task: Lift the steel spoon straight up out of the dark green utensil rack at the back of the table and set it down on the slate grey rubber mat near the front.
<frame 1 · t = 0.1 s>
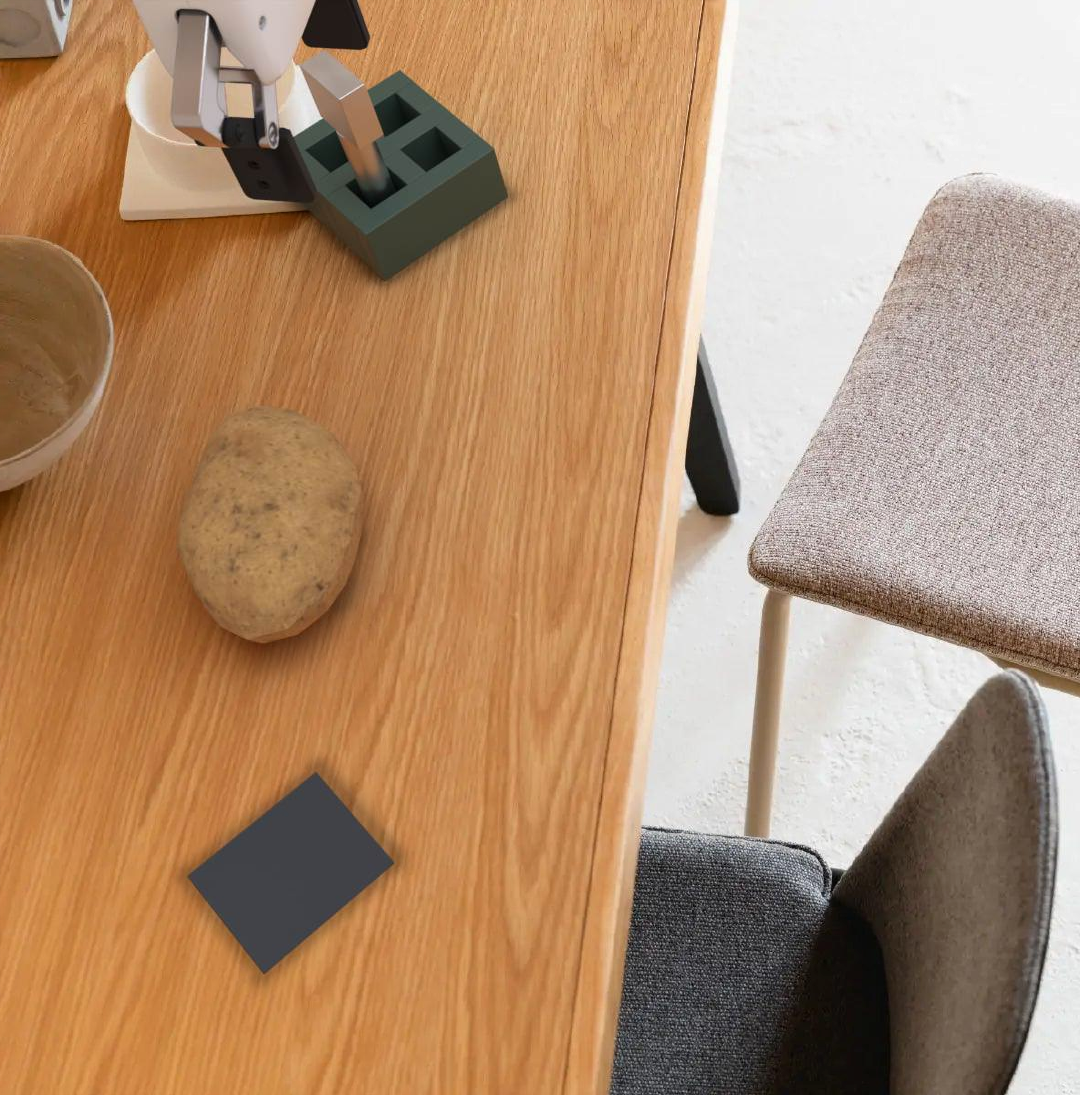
hand: (311, 117, 68), 24 cm above the table, tool pointing down, fingers open, 9 cm apart
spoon: (397, 238, 96), resting in rack
potato: (298, 567, 84), on the table
mat: (294, 873, 75), on the table
rack: (404, 203, 98), on the table
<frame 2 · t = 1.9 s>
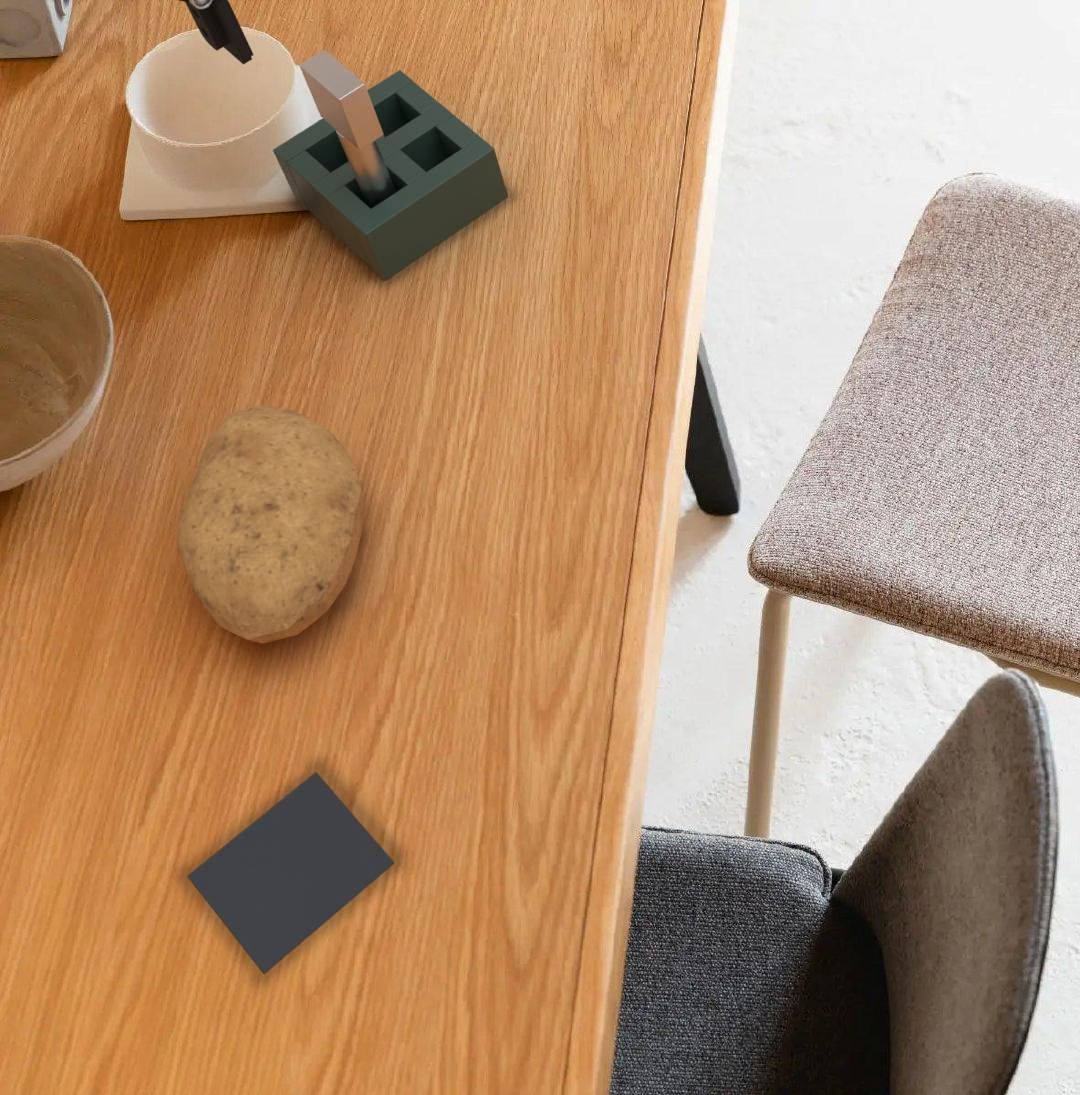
hand: (308, 3, 80), 19 cm above the table, tool pointing down, fingers open, 9 cm apart
nothing on the table moved.
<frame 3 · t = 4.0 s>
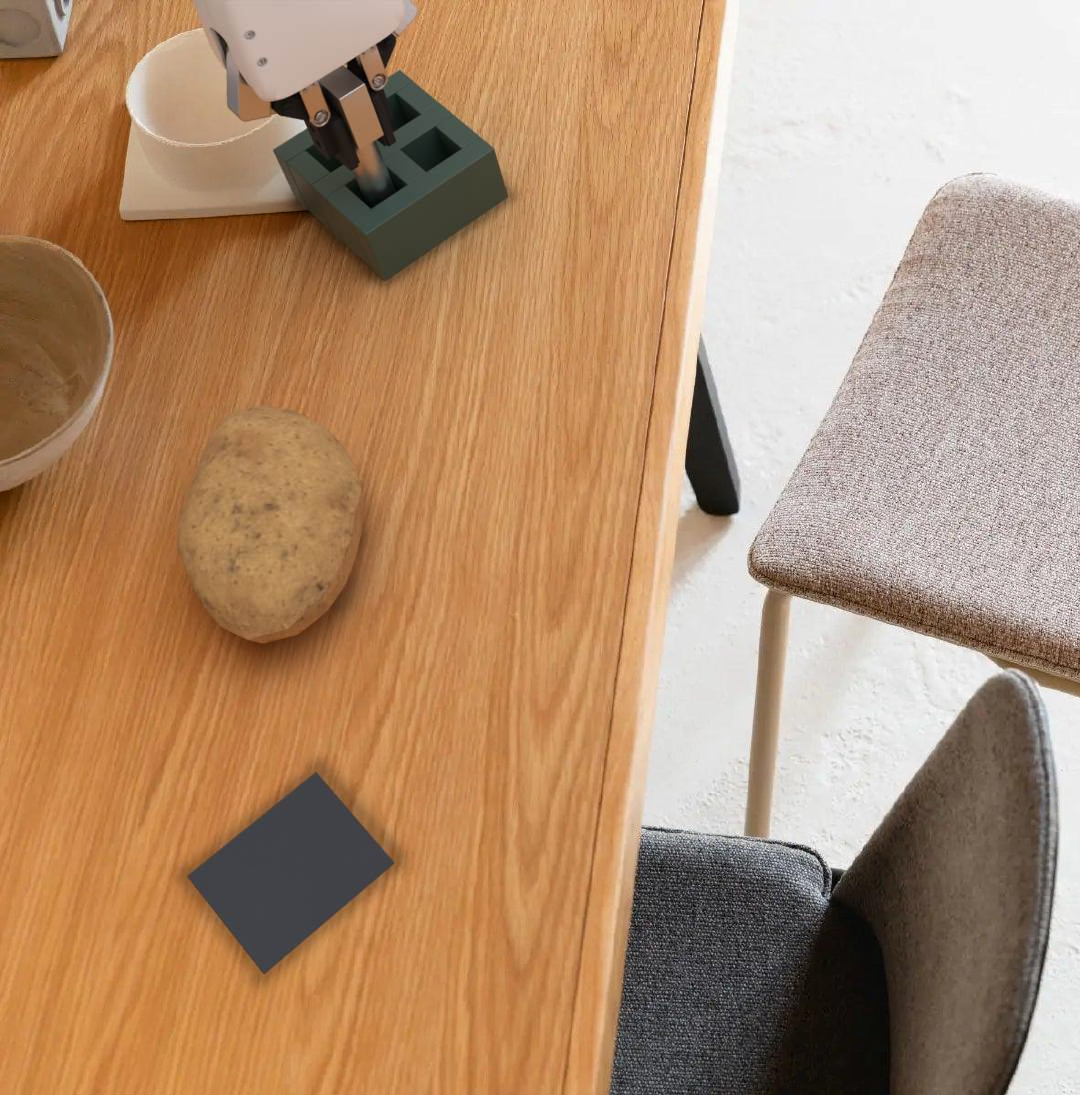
hand: (359, 143, 89), 9 cm above the table, tool pointing down, fingers closed on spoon, 2 cm apart
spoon: (397, 238, 96), resting in rack, touching gripper
everything else where it was.
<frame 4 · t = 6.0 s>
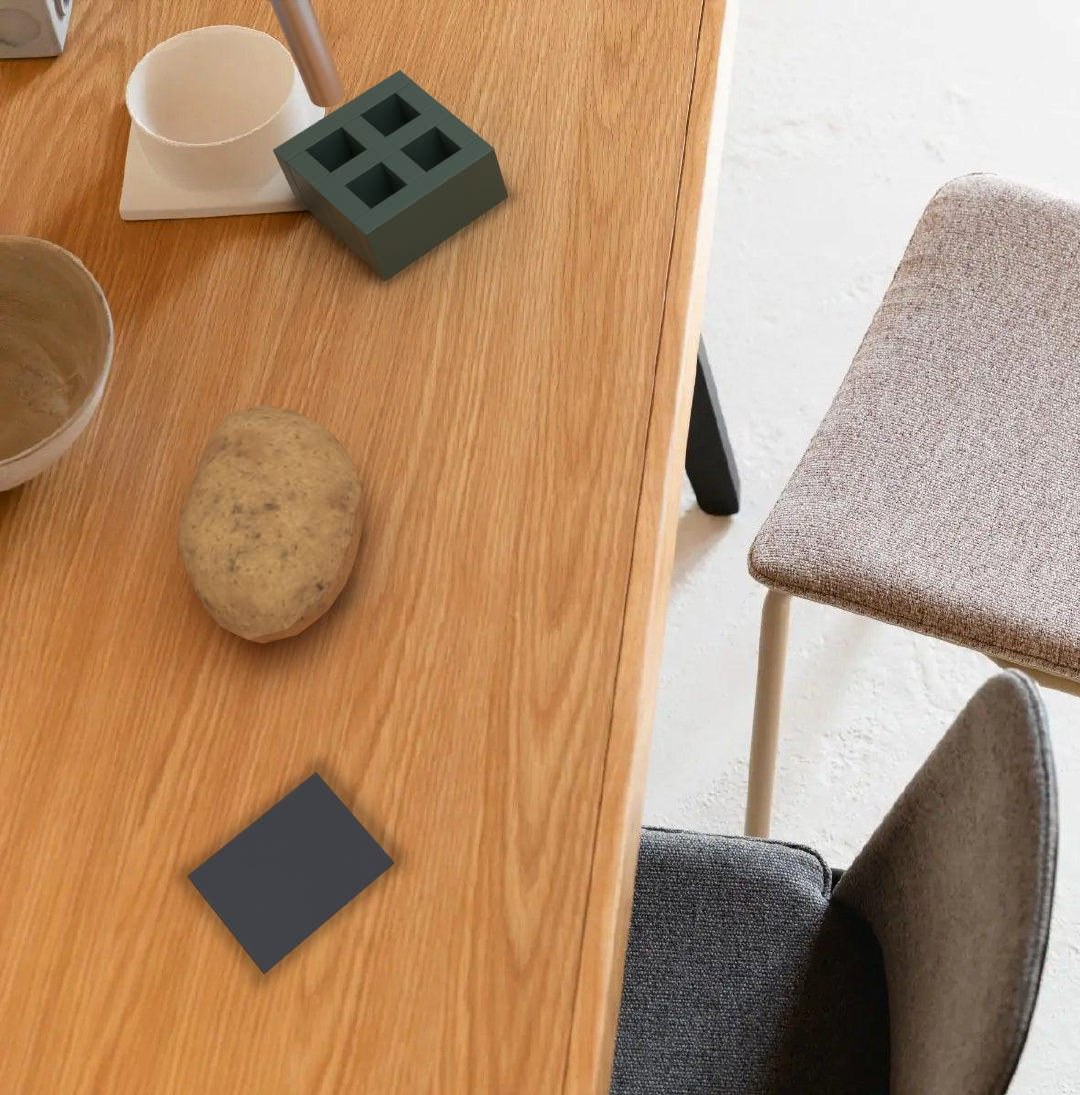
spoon: (327, 95, 84), point 13 cm above the table, touching gripper
everything else where it was.
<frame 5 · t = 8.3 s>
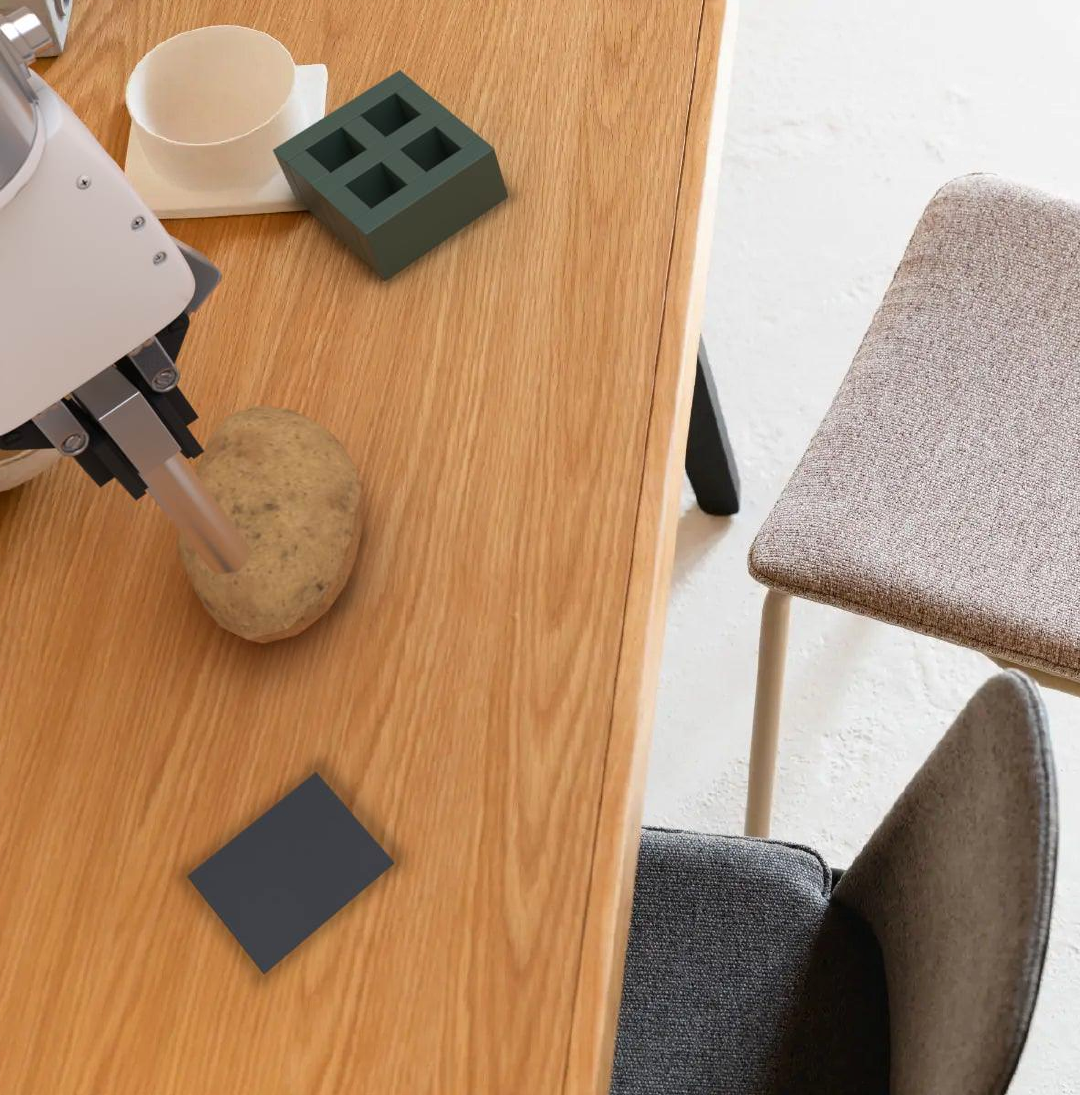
hand: (150, 454, 60), 23 cm above the table, tool pointing down, fingers closed on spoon
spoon: (228, 555, 68), point 15 cm above the table, touching gripper
everything else where it was.
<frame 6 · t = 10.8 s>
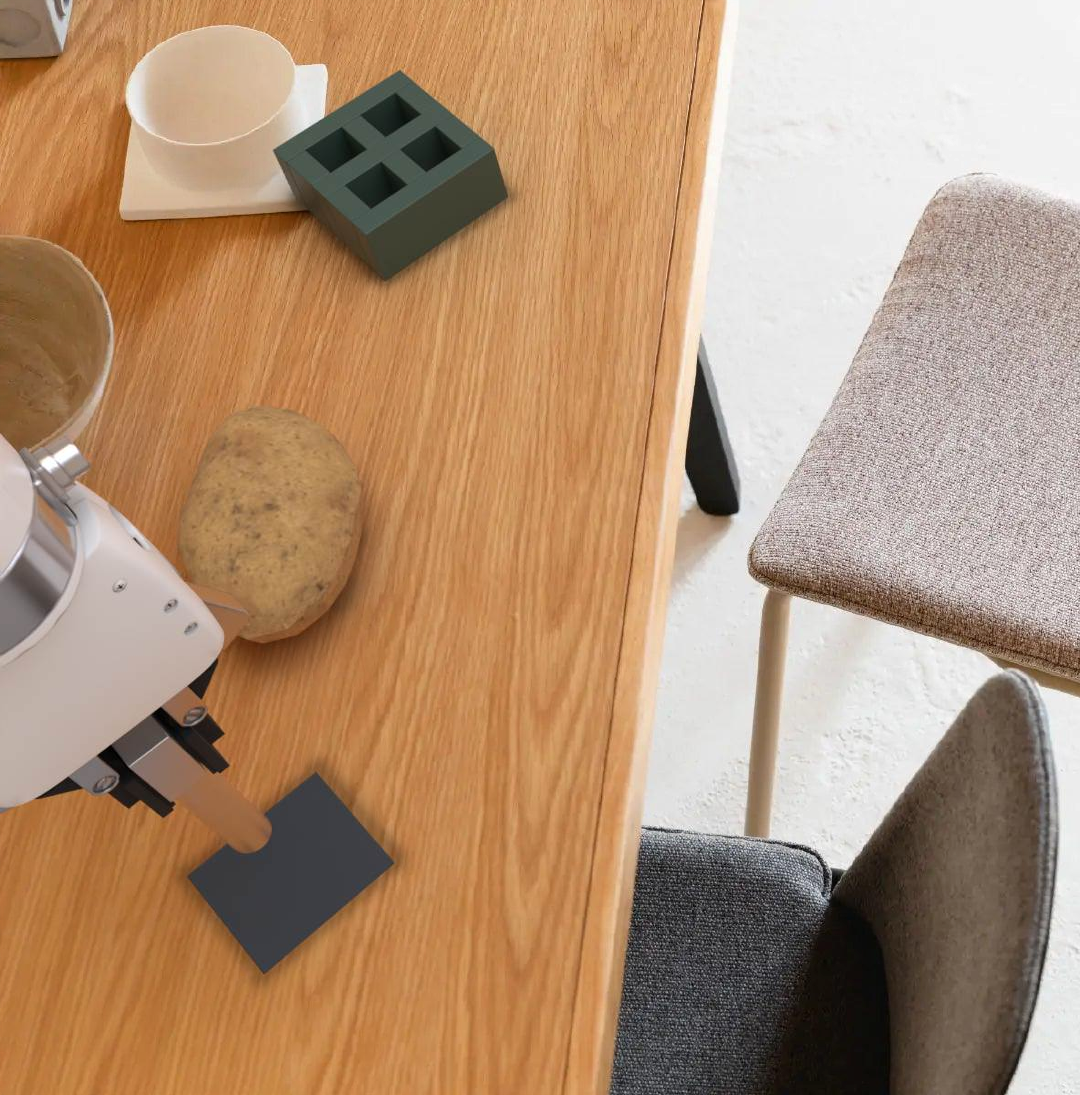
hand: (177, 767, 62), 15 cm above the table, tool pointing down, fingers closed on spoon
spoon: (250, 833, 69), point 7 cm above the table, touching gripper
everything else where it was.
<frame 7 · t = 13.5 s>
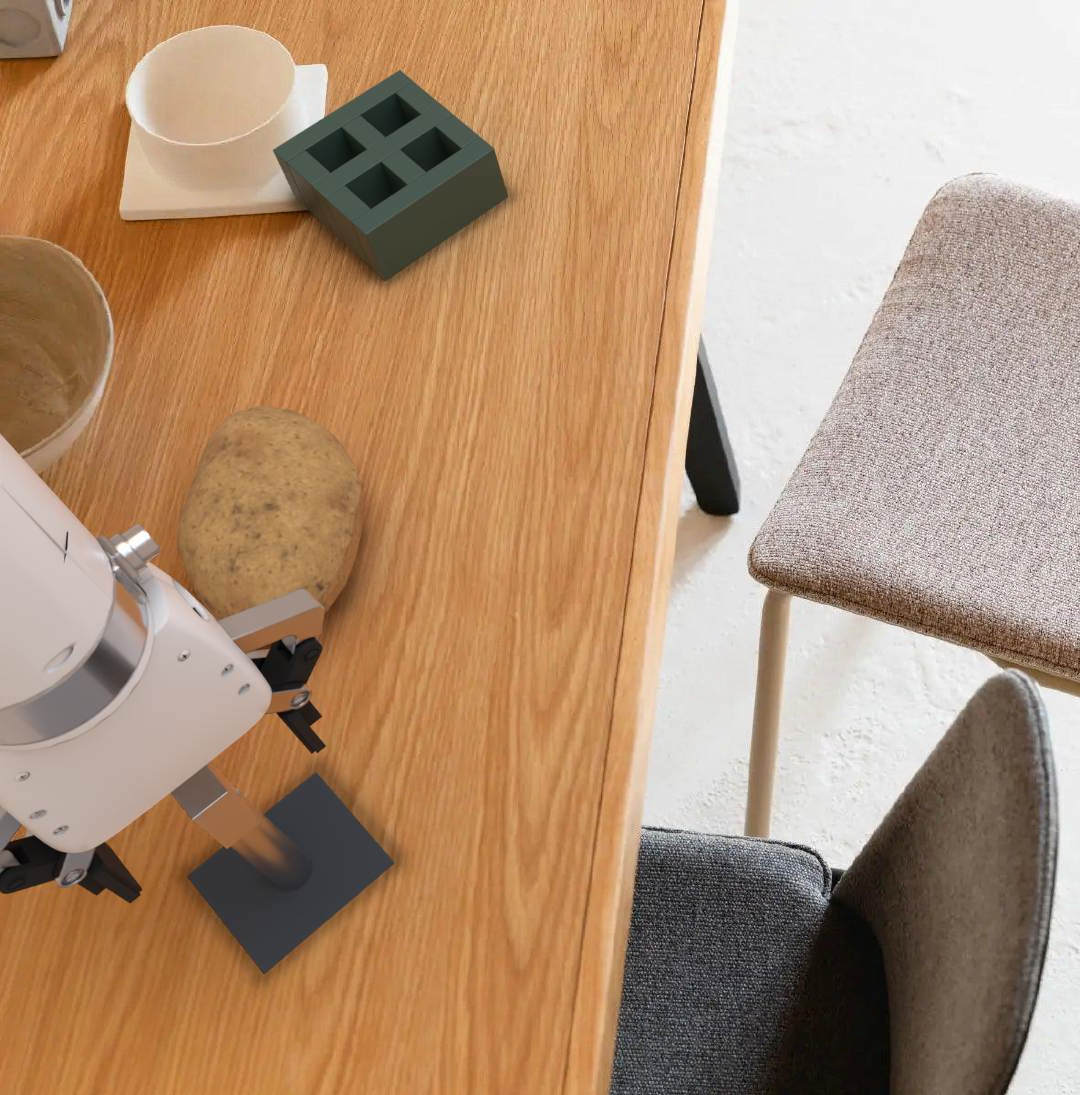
hand: (213, 800, 66), 11 cm above the table, tool pointing down, fingers open, 9 cm apart
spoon: (292, 871, 75), point 1 cm above the table, touching mat
everything else where it was.
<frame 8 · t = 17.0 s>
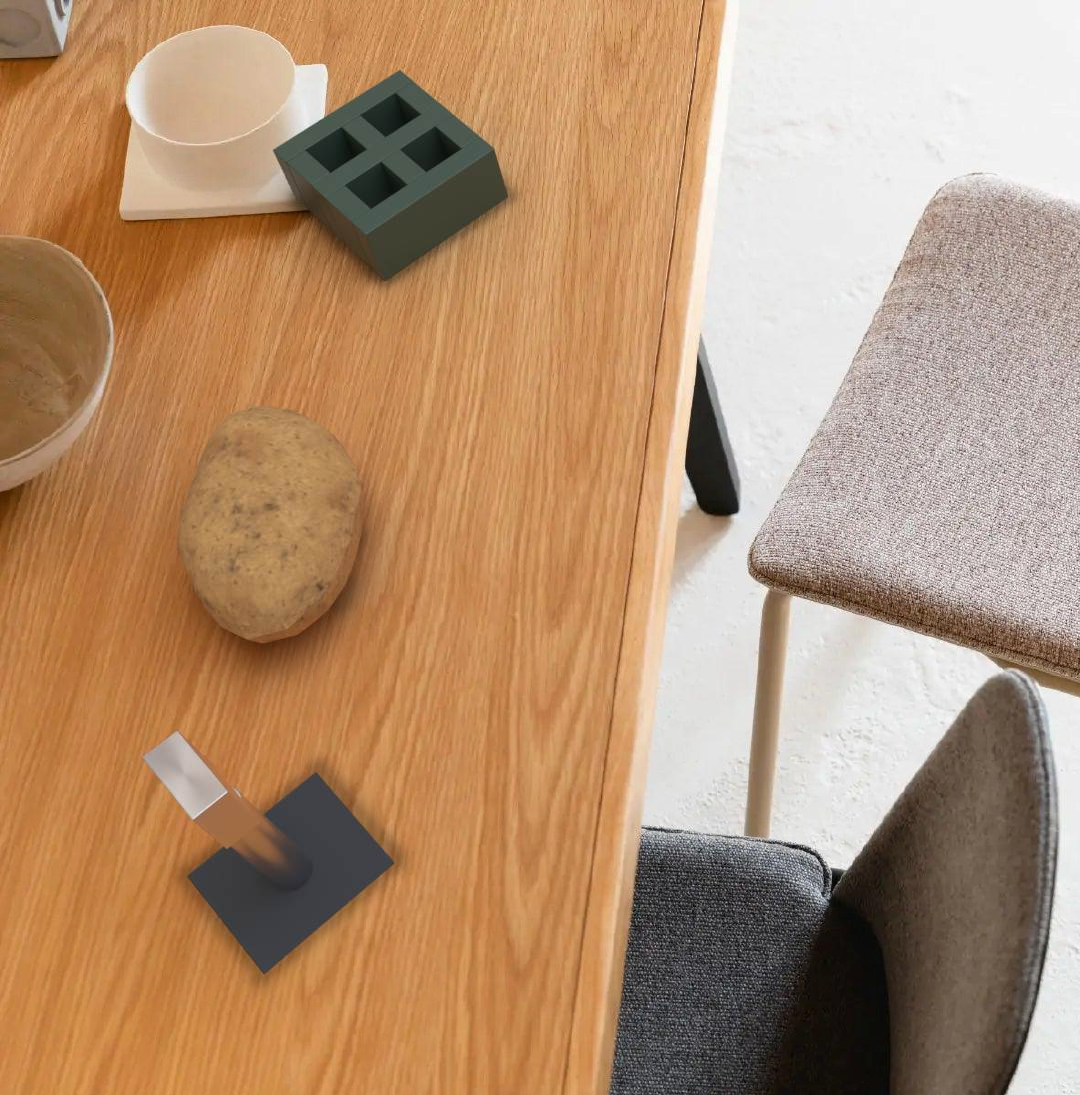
nothing on the table moved.
at the end: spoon inside the target area on the mat (0.2 cm from its centre), point 0.6 cm above the mat's base; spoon touching mat; the gripper is holding nothing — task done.
